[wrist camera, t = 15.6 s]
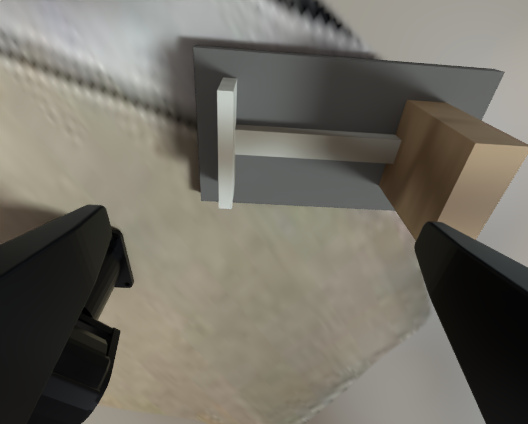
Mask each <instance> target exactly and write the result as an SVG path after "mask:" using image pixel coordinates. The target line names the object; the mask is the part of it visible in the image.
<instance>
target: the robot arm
mask: <svg viewBox="0 0 528 424" xmlns="http://www.w3.org/2000/svg"><path fill="white" fill-rule="evenodd" d="M114 235H115V236H117V237H115V236H114ZM415 253H416V256H417V259H418V263H419V266H420V269H421V272H422V275H423V278H424V281H425V284H426V288H427V291H428V293H429V296H430V299H431V301H432V303H433V306H434V308H435V310H436V312H437V315H438V317H439V319H440V322H441V324H442V326H443V328H444V331H445V333H446V335H447V337H448V339H449V342H450V344H451V346H452V349H453V350H454V353H455V355H456V357H457V360H458V362H459V364H460V366H461V369H462V371H463V373H464V375H465V378H466V380H467V382H468V384H469V387H470V389H471V391H472V393H473V396H474V398H475V400H476V402H477V404H478V407H479V409H480V411H481V414H482V416H483V418H484V420H485V423H486V424H528V267H526V266H524V265H522V264H520V263H518V262H516V261H514V260H513V259H511V258H509V257H507V256H505V255H503V254H501V253H499V252H498V251H495V250H494V249H492V248H490V247H488V246H486V245H484V244H482V243H480V242H478V241H477V240H475V239H473V238H471V237H469V236H467V235H465V234H464V233H462V232H460V231H458V230H456V229H454V228H452V227H450V226H449V225H447V224H445V223H443V222H433V221H428V222H426V223H425V224H424V225H423V227H422V229H421V232H420V234H419V236H418V238H417V240H416V242H415ZM133 283H134V279H133V275H132V271H131V267H130V263H129V259H128V255H127V251H126V247H125V243H124V239H123V235H122V233H121V232H120V231H118V230H112V229H111V225H110V221H109V218H108V214H107V211H106V208H105V207H104V206H102V205H86V206H83V207H81V208H79V209H77V210H75V211H73V212H70V213H68V214H66V215H64V216H62V217H60V218H57V219H55V220H53V221H51V222H49V223H47V224H44V225H42V226H40V227H38V228H36V229H34V230H31V231H29V232H27V233H25V234H23V235H21V236H18V237H16V238H14V239H12V240H10V241H7V242H5V243H3V244H1V245H0V424H81V423H82V422H84V421H85V420H86V419H87V418H88V417H89V415H90V414H91V413H92V412H93V410H94V409H95V407H96V406H97V404H98V403H99V401H100V399H101V398H102V396H103V394H104V392H105V390H106V388H107V386H108V383H109V381H110V377H111V374H112V369H113V364H114V359H115V355H116V350H117V345H118V341H119V336H120V330H118V329H116V328H111V327H109V326H107V325H106V324H104V323H102V322H100V321H98V318H99V316H100V314H101V312H102V310H103V308H104V306H105V304H106V303H107V301H108V299H109V297H110V295H111V293H112V291H113V289H114V287H120V288H130V287H132V285H133Z"/></svg>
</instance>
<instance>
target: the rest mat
mask: <svg viewBox="0 0 528 424" xmlns="http://www.w3.org/2000/svg"><path fill="white" fill-rule="evenodd" d="M193 56H194V74H195V93H196V112H197V131H198V149H199V168H200V187H201V201H216V202H219V183H218V116H217V90H218V87H219V85H220V83H221V81H222V79H223V77H224V78H237V103H236V124H239V125H254V126H269V127H285V128H300V129H315V130H331V131H346V132H361V133H377V134H392V135H396V132H397V128H398V125H399V122H400V119H401V116H402V113H403V110H404V107H405V104H406V101H407V100H416V101H430V102H444V103H448V104H450V105H452V106H454V107H456V108H458V109H460V110H462V111H464V112H466V113H467V114H469V115H471V116H473V117H475V118H477V119H479V120H482V118H483V116H484V114H485V112H486V110H487V108H488V106H489V104H490V101H491V100H492V97H493V95H494V93H495V91H496V89H497V87H498V85H499V83H500V81H501V79H502V77H503V74H504V72H503V71H499V70H495V69H486V68H474V67H462V66H448V65H437V64H424V63H412V62H399V61H387V60H374V59H362V58H349V57H337V56H324V55H312V54H299V53H287V52H274V51H262V50H249V49H237V48H224V47H212V46H199V45H196V46H194V47H193ZM385 165H386V163H371V162H354V161H337V160H321V159H304V158H287V157H270V156H253V155H236V154H235V187H234V195H233V202H235V203H255V204H275V205H294V206H314V207H334V208H353V209H373V210H393V211H395V209H394V208H393V206H392V205H391V203H390V202H389V200H388V199H387V197H386V196H385V194H384V193H383V191H382V190H381V188H380V187H379V183H380V180H381V177H382V174H383V171H384V168H385Z"/></svg>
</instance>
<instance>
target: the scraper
mask: <svg viewBox="0 0 528 424" xmlns="http://www.w3.org/2000/svg"><path fill="white" fill-rule="evenodd" d="M236 103H237V78H224V77H223V79H222V81H221V83H220V85H219V87H218V90H217V116H218V183H219V208H221V209H232V203H233V195H234V187H235V154H236V155H253V156H270V157H287V158H304V159H321V160H337V161H354V162H371V163H386V165H385V168H384V171H383V174H382V177H381V180H380V183H379V187H380V188H381V190H382V191H383V193H384V194H385V196H386V197H387V199H388V200H389V202H390V203H391V205H392V206H393V208H394V209H395V211H396V212H397V214H398V215H399V217H400V218H401V220H402V221H403V222H404V224H405V225H406V227H407V228H408V230H409V231H410V233H411V234H412V236H413V237H414V239H415V240H417V238H418V236H419V234H420V232H421V229H422V227H423V225H424V224H425V223H426V222H428V221H433V222H443V223H445V224H447V225H449V226H450V227H452V228H454V229H456V230H458V231H460V232H462V233H464V234H465V235H467V236H469V237H471V238H473V239H475V240H476V238H477V237H478V235H479V234H480V232H481V230H482V229H483V227H484V225H485V224H486V222H487V220H488V219H489V217H490V215H491V214H492V212H493V211H494V209H495V207H496V206H497V204H498V202H499V201H500V199H501V197H502V196H503V194H504V193H505V191H506V189H507V188H508V186H509V184H510V183H511V181H512V179H513V178H514V176H515V174H516V173H517V171H518V169H519V168H520V166H521V165H522V163H523V161H524V160H525V158H526V156H527V155H528V144H526V143H524V142H522V141H520V140H518V139H516V138H514V137H512V136H510V135H508V134H506V133H504V132H502V131H500V130H499V129H496V128H494V127H493V126H491V125H489V124H487V123H485V122H483V121H481V120H479V119H477V118H475V117H473V116H471V115H469V114H467V113H466V112H464V111H462V110H460V109H458V108H456V107H454V106H452V105H450V104H448V103H444V102H430V101H416V100H407V101H406V104H405V107H404V110H403V113H402V116H401V119H400V122H399V125H398V128H397V132H396V135H392V134H377V133H361V132H346V131H331V130H315V129H300V128H285V127H269V126H254V125H239V124H236Z"/></svg>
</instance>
